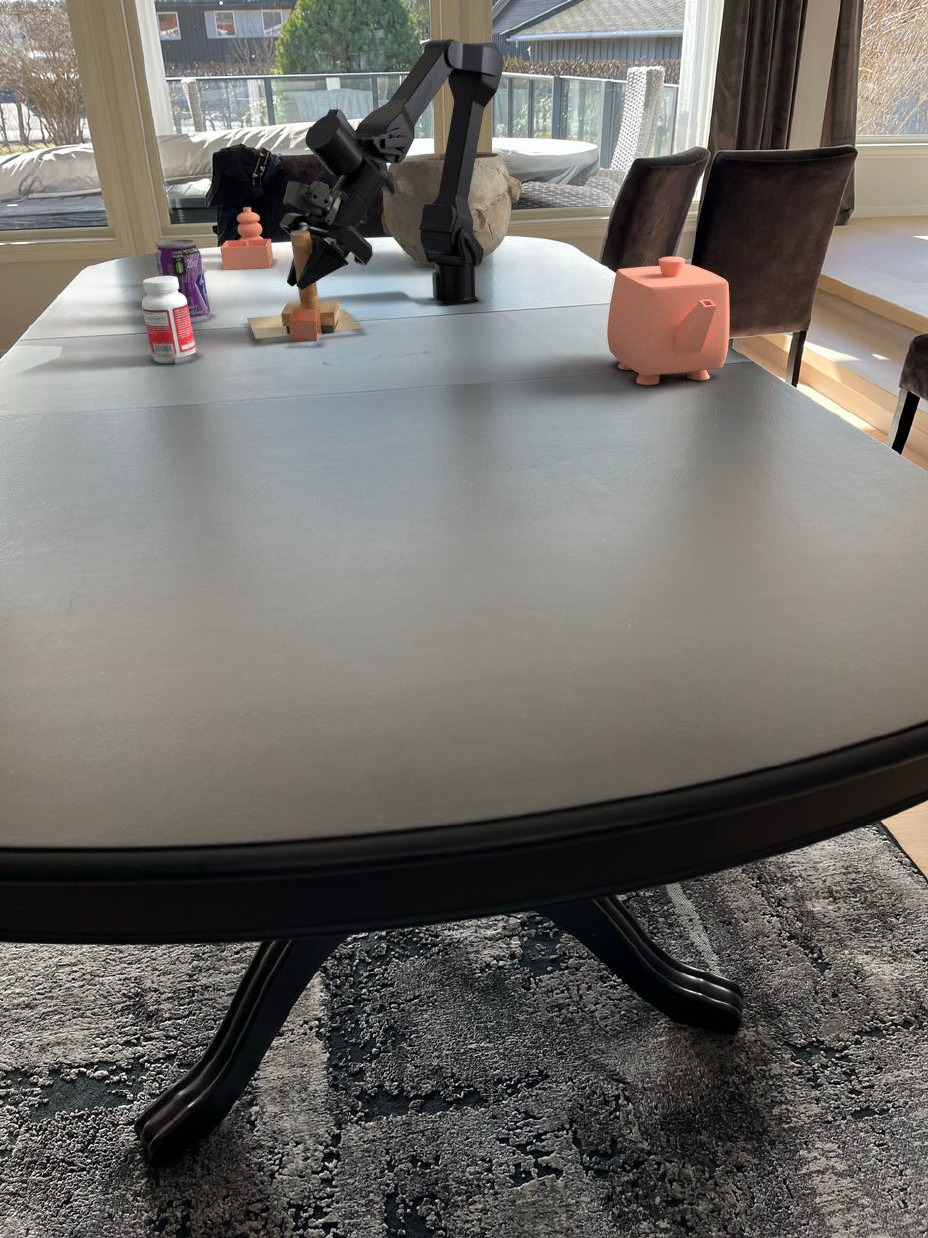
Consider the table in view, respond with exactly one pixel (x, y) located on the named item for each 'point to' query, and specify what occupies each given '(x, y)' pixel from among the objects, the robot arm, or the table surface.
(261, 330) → the board
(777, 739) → the table surface
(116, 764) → the table surface
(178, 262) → the beverage can
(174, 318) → the pill bottle
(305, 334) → the cube
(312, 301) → the wooden stamp
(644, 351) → the teapot
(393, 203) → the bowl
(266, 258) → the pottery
